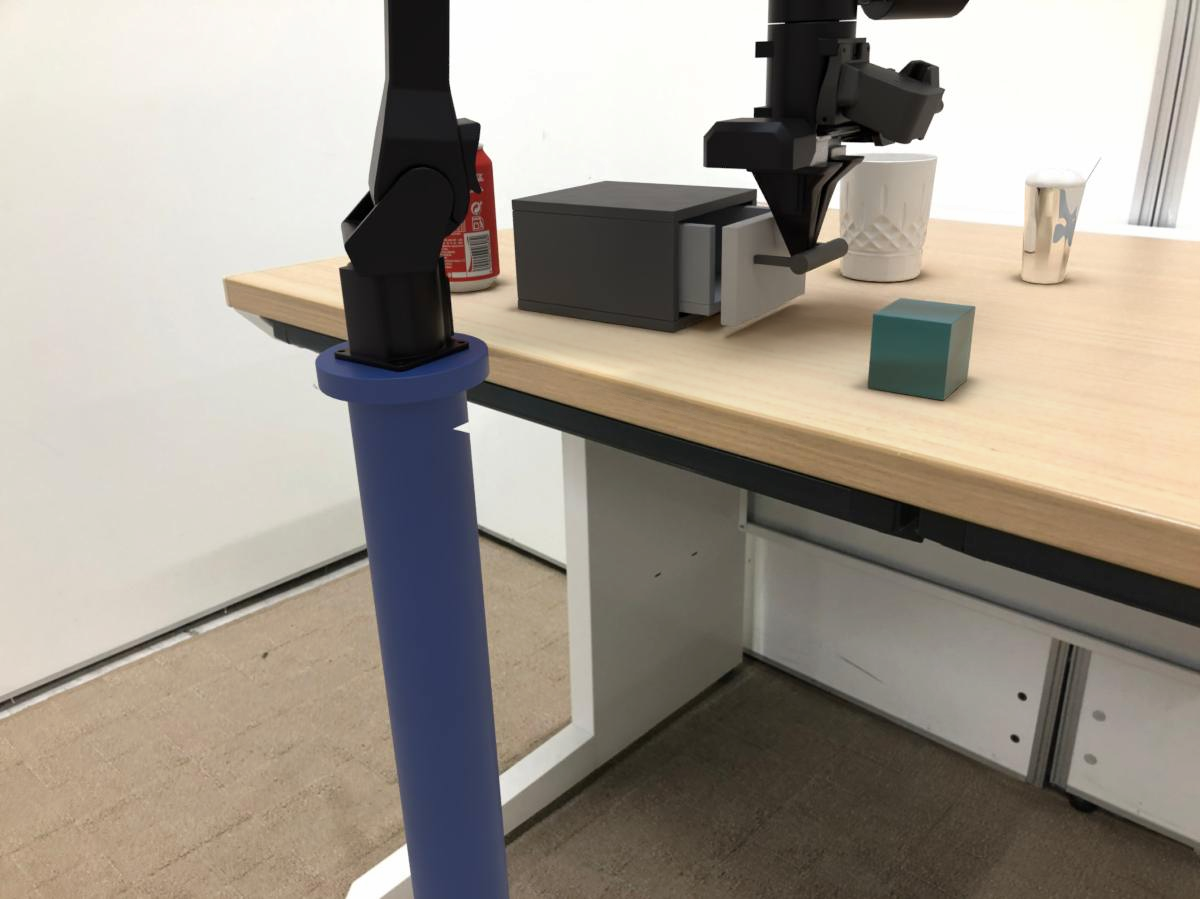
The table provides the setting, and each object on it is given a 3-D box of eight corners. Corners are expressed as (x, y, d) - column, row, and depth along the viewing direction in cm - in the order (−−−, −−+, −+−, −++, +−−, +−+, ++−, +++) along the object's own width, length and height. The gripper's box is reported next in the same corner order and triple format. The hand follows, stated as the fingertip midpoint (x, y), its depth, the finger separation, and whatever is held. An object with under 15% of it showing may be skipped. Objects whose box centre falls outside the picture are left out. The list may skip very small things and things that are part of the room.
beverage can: (492, 275, 91) (482, 140, 87) (507, 289, 86) (498, 145, 81) (424, 282, 89) (410, 144, 85) (435, 296, 84) (421, 150, 79)
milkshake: (1077, 288, 80) (1097, 160, 76) (1007, 282, 82) (1023, 158, 78) (1085, 277, 83) (1104, 154, 79) (1018, 272, 86) (1034, 153, 82)
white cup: (942, 272, 87) (953, 154, 83) (899, 288, 82) (910, 163, 78) (861, 261, 92) (869, 150, 88) (816, 276, 87) (822, 158, 83)
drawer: (856, 299, 75) (862, 208, 72) (791, 334, 66) (795, 232, 64) (659, 276, 84) (658, 195, 82) (579, 304, 76) (576, 215, 73)
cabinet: (754, 296, 80) (757, 188, 77) (673, 332, 71) (673, 211, 68) (608, 279, 88) (605, 180, 85) (517, 309, 79) (510, 199, 76)
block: (943, 400, 56) (951, 323, 54) (867, 388, 58) (872, 313, 57) (967, 379, 59) (975, 306, 57) (894, 368, 62) (900, 297, 60)
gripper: (879, 16, 53) (860, 301, 59) (979, 17, 67) (956, 247, 73) (699, 25, 59) (698, 282, 65) (825, 24, 73) (815, 236, 79)
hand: (801, 260), depth 70 cm, fingers closed, pressing on drawer
